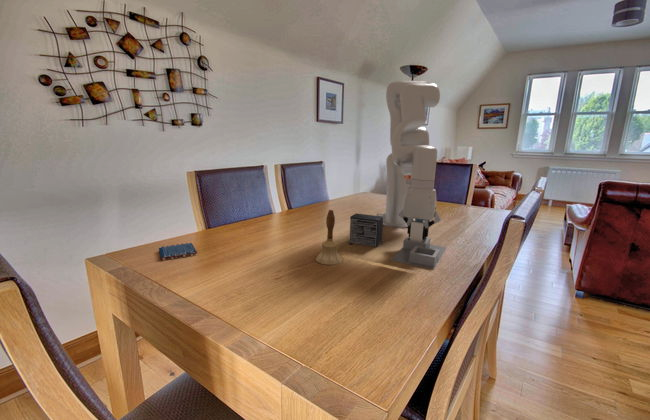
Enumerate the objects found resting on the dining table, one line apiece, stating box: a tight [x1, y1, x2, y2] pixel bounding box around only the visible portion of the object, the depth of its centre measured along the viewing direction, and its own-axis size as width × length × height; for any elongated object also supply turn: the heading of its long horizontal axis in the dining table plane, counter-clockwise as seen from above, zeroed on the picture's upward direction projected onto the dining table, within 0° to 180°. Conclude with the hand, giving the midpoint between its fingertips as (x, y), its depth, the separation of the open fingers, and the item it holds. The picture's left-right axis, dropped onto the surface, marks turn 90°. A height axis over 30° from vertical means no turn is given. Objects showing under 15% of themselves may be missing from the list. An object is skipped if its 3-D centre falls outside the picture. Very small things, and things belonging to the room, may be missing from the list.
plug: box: [410, 219, 425, 242], centre depth 108 cm, size 4×4×10 cm
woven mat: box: [158, 242, 198, 262], centre depth 101 cm, size 10×11×2 cm
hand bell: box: [315, 209, 343, 266], centre depth 96 cm, size 8×8×16 cm
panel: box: [390, 234, 447, 270], centre depth 102 cm, size 13×22×4 cm, turn 150°
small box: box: [348, 213, 384, 248], centre depth 112 cm, size 11×6×10 cm, turn 65°
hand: (417, 236), depth 108 cm, fingers closed on plug, 4 cm apart
